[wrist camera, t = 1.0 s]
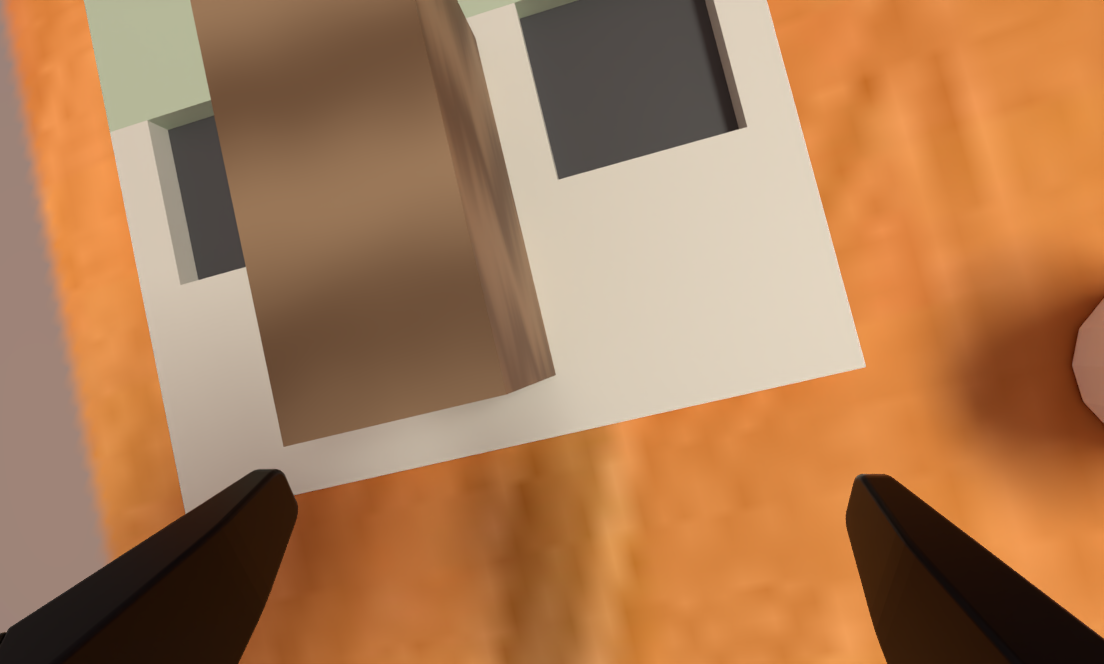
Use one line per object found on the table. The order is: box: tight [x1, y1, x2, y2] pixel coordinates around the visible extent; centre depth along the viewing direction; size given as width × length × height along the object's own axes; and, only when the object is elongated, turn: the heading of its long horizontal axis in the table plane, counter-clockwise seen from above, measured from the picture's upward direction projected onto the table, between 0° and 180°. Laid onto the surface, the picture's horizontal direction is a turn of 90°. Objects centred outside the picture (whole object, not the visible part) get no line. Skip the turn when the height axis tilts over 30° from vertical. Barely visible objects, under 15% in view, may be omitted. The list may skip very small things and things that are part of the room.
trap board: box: [84, 0, 866, 514], centre depth 26 cm, size 31×30×2 cm
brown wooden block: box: [190, 0, 556, 447], centre depth 20 cm, size 15×6×10 cm, turn 14°
